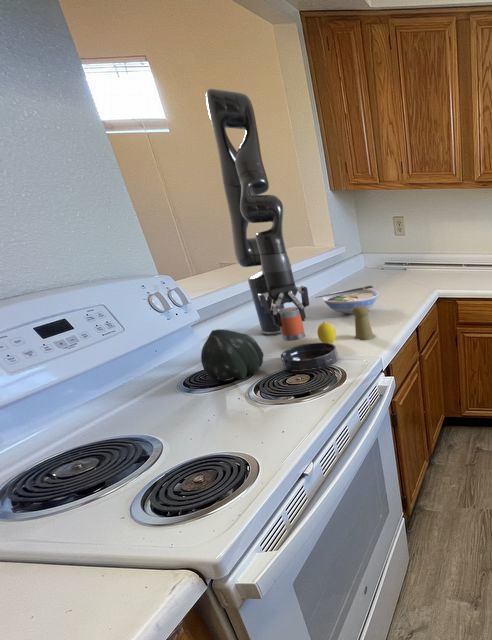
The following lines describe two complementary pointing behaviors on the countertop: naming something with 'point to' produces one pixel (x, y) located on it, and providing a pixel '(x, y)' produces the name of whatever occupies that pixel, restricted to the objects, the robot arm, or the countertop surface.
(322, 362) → the pan
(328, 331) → the lemon
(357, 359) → the countertop surface
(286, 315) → the can
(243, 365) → the squash
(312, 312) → the countertop surface
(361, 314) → the olive flared column
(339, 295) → the ramen bowl
